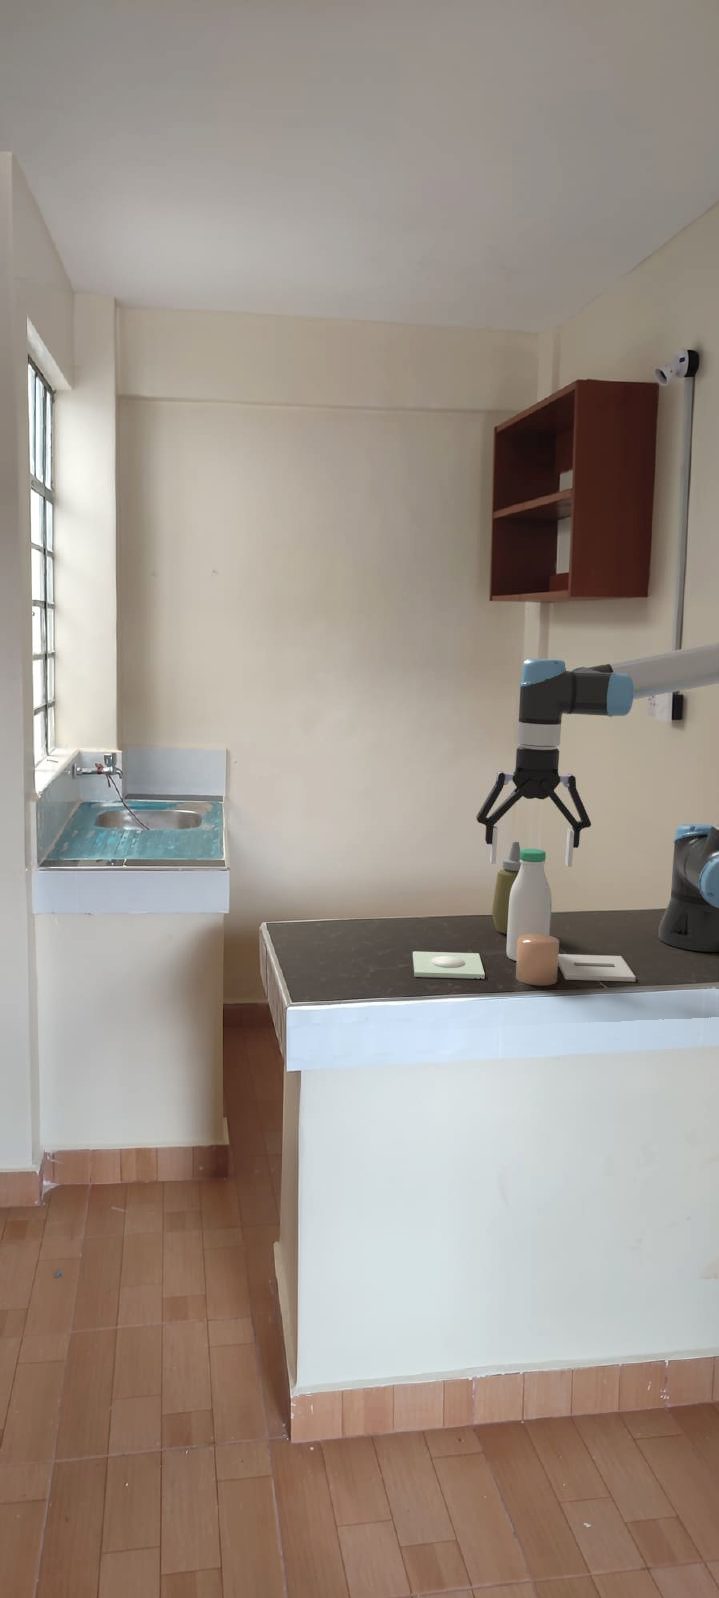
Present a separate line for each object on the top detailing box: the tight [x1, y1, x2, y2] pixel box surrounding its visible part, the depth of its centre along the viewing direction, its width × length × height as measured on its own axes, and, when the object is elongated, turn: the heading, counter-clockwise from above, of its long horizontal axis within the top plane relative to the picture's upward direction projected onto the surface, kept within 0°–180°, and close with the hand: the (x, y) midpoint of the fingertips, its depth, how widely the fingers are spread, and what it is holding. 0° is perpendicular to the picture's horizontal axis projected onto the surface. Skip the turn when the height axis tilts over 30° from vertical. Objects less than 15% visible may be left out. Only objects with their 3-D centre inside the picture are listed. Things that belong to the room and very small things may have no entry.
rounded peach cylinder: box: [515, 934, 560, 986], centre depth 195 cm, size 7×7×7 cm
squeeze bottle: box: [491, 841, 521, 935], centre depth 223 cm, size 8×8×18 cm
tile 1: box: [412, 950, 486, 980], centre depth 201 cm, size 12×12×1 cm
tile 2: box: [558, 953, 636, 982], centre depth 201 cm, size 12×12×1 cm
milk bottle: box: [506, 848, 553, 962], centre depth 206 cm, size 8×8×20 cm
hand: (530, 863), depth 204 cm, fingers open, 13 cm apart
